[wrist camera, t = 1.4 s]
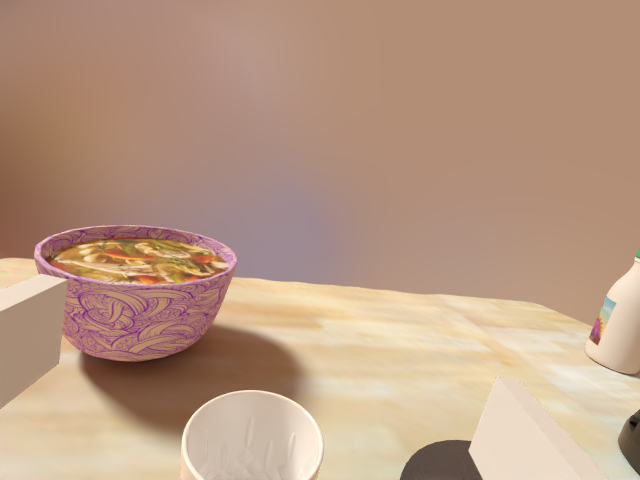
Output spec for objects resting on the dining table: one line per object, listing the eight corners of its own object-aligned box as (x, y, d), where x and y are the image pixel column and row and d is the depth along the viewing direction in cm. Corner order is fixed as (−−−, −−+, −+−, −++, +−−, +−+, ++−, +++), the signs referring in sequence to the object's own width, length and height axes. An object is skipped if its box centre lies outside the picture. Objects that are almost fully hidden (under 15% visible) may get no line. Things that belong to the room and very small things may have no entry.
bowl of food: (55, 305, 49) (56, 219, 46) (212, 303, 57) (221, 231, 55) (5, 413, 31) (2, 285, 28) (241, 386, 40) (257, 287, 37)
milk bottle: (646, 372, 63) (698, 260, 58) (625, 379, 59) (678, 259, 54) (596, 347, 69) (639, 244, 64) (574, 351, 65) (618, 243, 60)
